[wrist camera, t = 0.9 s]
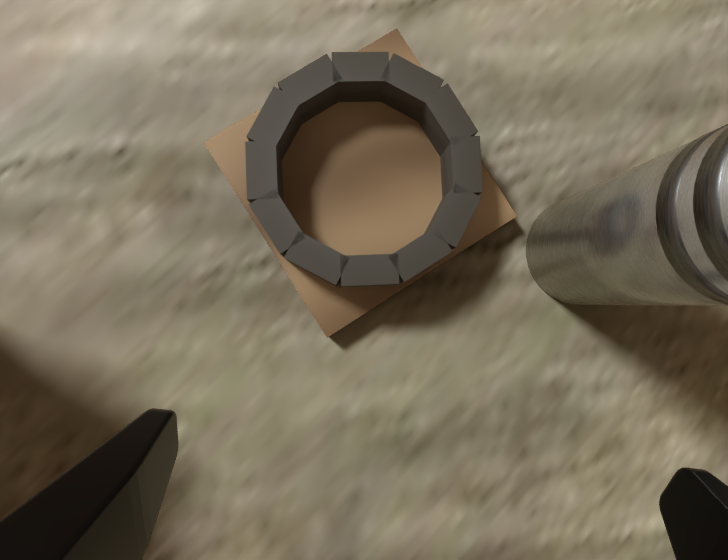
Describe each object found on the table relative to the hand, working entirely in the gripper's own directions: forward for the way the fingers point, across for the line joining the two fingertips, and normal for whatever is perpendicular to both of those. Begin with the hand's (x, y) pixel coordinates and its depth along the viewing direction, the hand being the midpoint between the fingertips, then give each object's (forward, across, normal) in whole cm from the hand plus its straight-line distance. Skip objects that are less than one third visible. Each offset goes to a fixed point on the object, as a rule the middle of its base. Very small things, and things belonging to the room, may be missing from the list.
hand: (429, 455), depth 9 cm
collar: (+16, +2, 0) cm, 16 cm away
